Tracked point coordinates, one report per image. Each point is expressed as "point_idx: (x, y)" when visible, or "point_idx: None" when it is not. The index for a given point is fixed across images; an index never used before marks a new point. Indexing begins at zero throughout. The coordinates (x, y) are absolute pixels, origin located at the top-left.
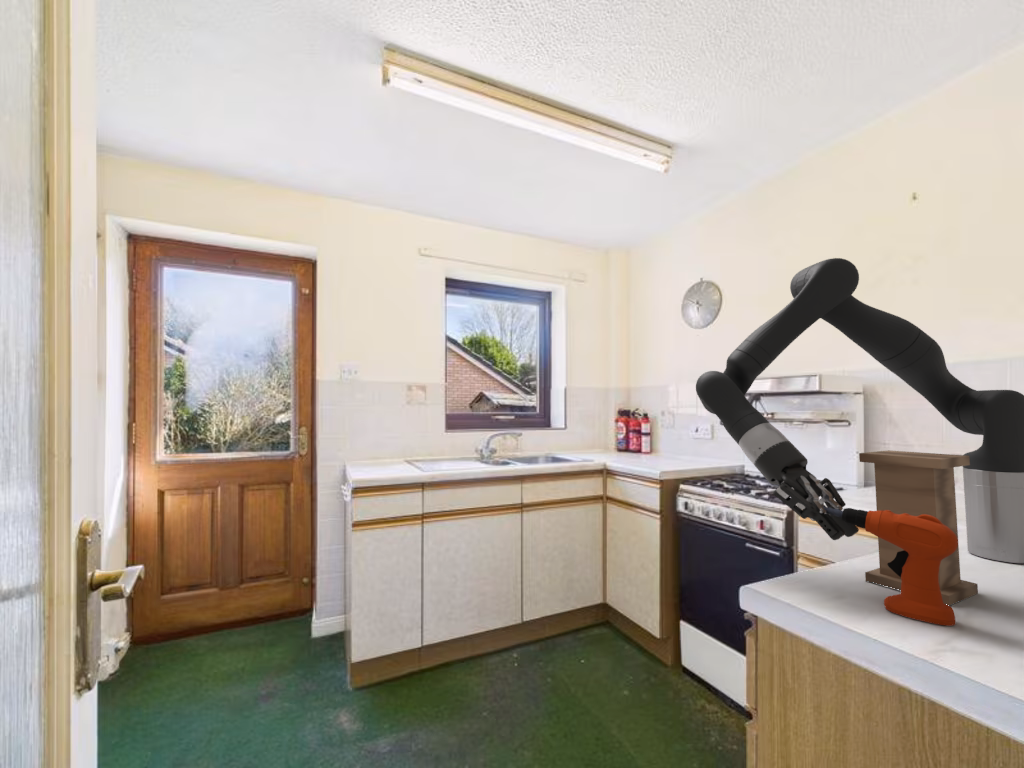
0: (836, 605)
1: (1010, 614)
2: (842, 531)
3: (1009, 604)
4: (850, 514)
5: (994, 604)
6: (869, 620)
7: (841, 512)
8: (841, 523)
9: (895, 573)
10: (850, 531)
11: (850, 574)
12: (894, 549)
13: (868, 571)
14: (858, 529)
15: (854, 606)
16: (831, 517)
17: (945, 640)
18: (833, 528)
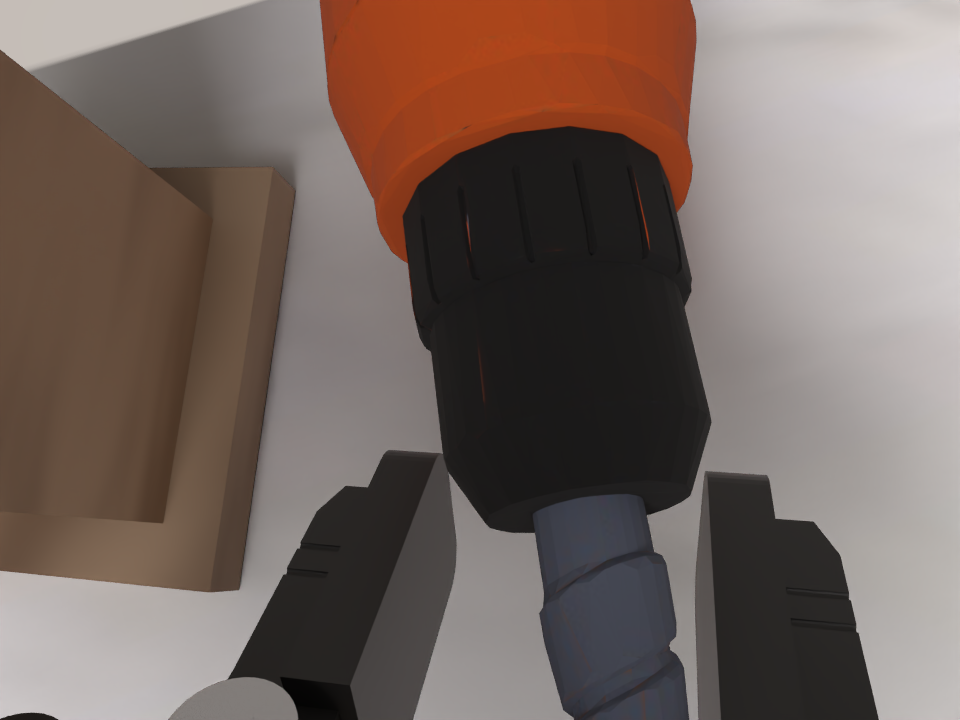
0: (847, 513)
1: (190, 34)
2: (758, 478)
3: (52, 78)
4: (684, 354)
5: (102, 107)
6: (895, 310)
7: (631, 525)
8: (407, 638)
9: (159, 429)
10: (446, 523)
11: (173, 708)
12: (52, 395)
13: (172, 587)
14: (391, 451)
15: (756, 445)
16: (727, 656)
17: (792, 40)
18: (834, 566)
